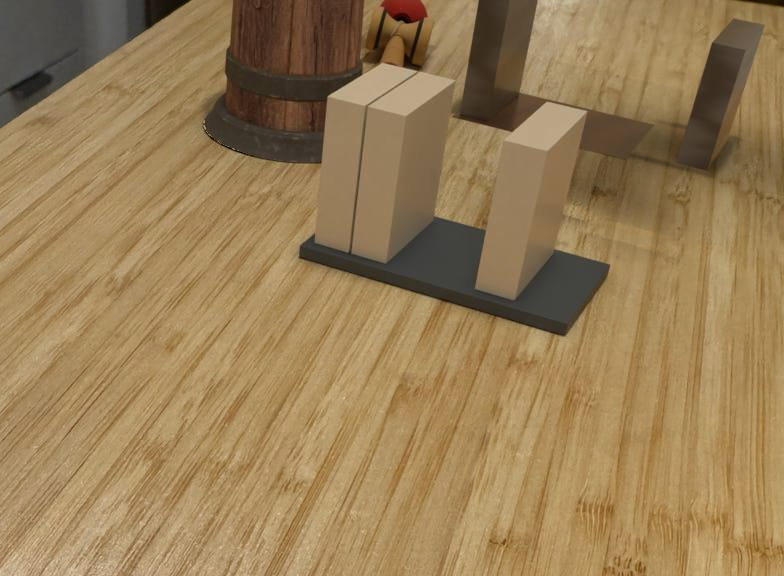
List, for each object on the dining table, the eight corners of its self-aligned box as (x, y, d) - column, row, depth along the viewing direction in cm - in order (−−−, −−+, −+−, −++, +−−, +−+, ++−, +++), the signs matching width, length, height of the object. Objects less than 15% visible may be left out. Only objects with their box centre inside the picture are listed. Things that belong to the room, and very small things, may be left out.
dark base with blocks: (607, 275, 92) (650, 121, 84) (564, 336, 84) (607, 171, 76) (360, 207, 98) (378, 57, 90) (298, 257, 90) (311, 97, 82)
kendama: (428, 108, 122) (439, 35, 133) (426, 47, 117) (437, -23, 128) (357, 112, 123) (373, 40, 134) (351, 52, 118) (369, -18, 130)
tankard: (352, 175, 103) (380, -81, 89) (176, 142, 105) (178, -113, 92) (406, 98, 120) (436, -128, 106) (253, 70, 122) (264, -153, 109)
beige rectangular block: (553, 253, 92) (587, 111, 84) (514, 301, 85) (547, 150, 78) (516, 243, 93) (546, 101, 85) (474, 289, 86) (503, 139, 78)
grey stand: (729, 153, 115) (772, 23, 107) (705, 190, 107) (749, 53, 99) (489, 95, 123) (512, -31, 114) (449, 126, 114) (471, -7, 106)
